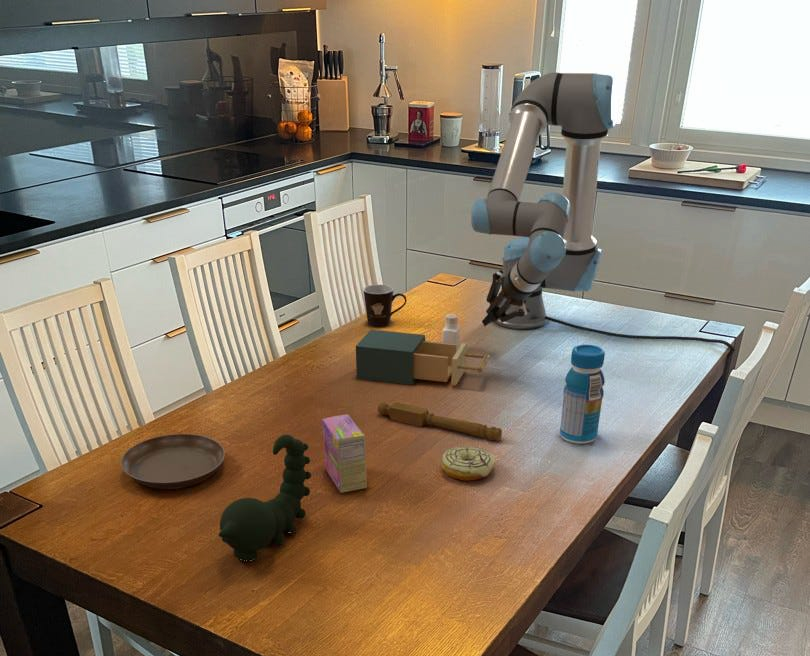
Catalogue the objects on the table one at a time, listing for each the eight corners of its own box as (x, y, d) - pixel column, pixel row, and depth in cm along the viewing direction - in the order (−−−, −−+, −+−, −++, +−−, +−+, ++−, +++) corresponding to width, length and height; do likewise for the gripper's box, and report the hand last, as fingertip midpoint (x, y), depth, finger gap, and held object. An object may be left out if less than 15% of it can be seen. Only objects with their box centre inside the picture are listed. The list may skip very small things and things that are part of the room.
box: (324, 470, 176) (321, 417, 169) (351, 465, 178) (349, 413, 171) (339, 494, 168) (337, 440, 161) (367, 489, 169) (365, 435, 163)
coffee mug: (358, 325, 247) (357, 291, 241) (373, 316, 253) (372, 282, 248) (394, 332, 242) (393, 297, 237) (408, 322, 249) (408, 288, 243)
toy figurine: (282, 512, 165) (200, 571, 145) (278, 420, 156) (190, 469, 136) (323, 524, 162) (245, 585, 142) (322, 431, 152) (239, 482, 133)
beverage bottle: (557, 442, 186) (566, 355, 175) (560, 426, 192) (569, 340, 181) (596, 447, 184) (608, 359, 173) (598, 429, 191) (610, 344, 180)
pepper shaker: (459, 348, 232) (460, 314, 227) (456, 353, 229) (457, 319, 223) (445, 346, 233) (445, 312, 228) (441, 352, 230) (442, 317, 224)
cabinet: (425, 366, 221) (425, 334, 216) (412, 385, 212) (412, 351, 207) (371, 360, 225) (370, 329, 220) (356, 378, 215) (355, 345, 210)
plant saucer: (246, 461, 179) (245, 447, 177) (178, 506, 164) (175, 491, 162) (173, 438, 188) (171, 425, 186) (101, 479, 173) (98, 464, 171)
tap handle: (497, 431, 184) (375, 404, 195) (496, 444, 185) (375, 416, 197) (502, 425, 186) (381, 399, 197) (501, 438, 188) (382, 411, 199)
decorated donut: (495, 484, 171) (496, 467, 169) (441, 483, 171) (442, 467, 169) (492, 459, 179) (493, 443, 177) (441, 458, 180) (441, 442, 178)
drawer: (489, 371, 216) (491, 345, 213) (480, 388, 208) (482, 361, 204) (414, 363, 221) (414, 338, 217) (403, 379, 212) (402, 353, 208)
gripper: (496, 262, 201) (462, 307, 223) (527, 308, 201) (490, 348, 223) (519, 249, 204) (483, 294, 226) (550, 294, 204) (511, 335, 226)
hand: (487, 321), depth 225 cm, fingers closed
